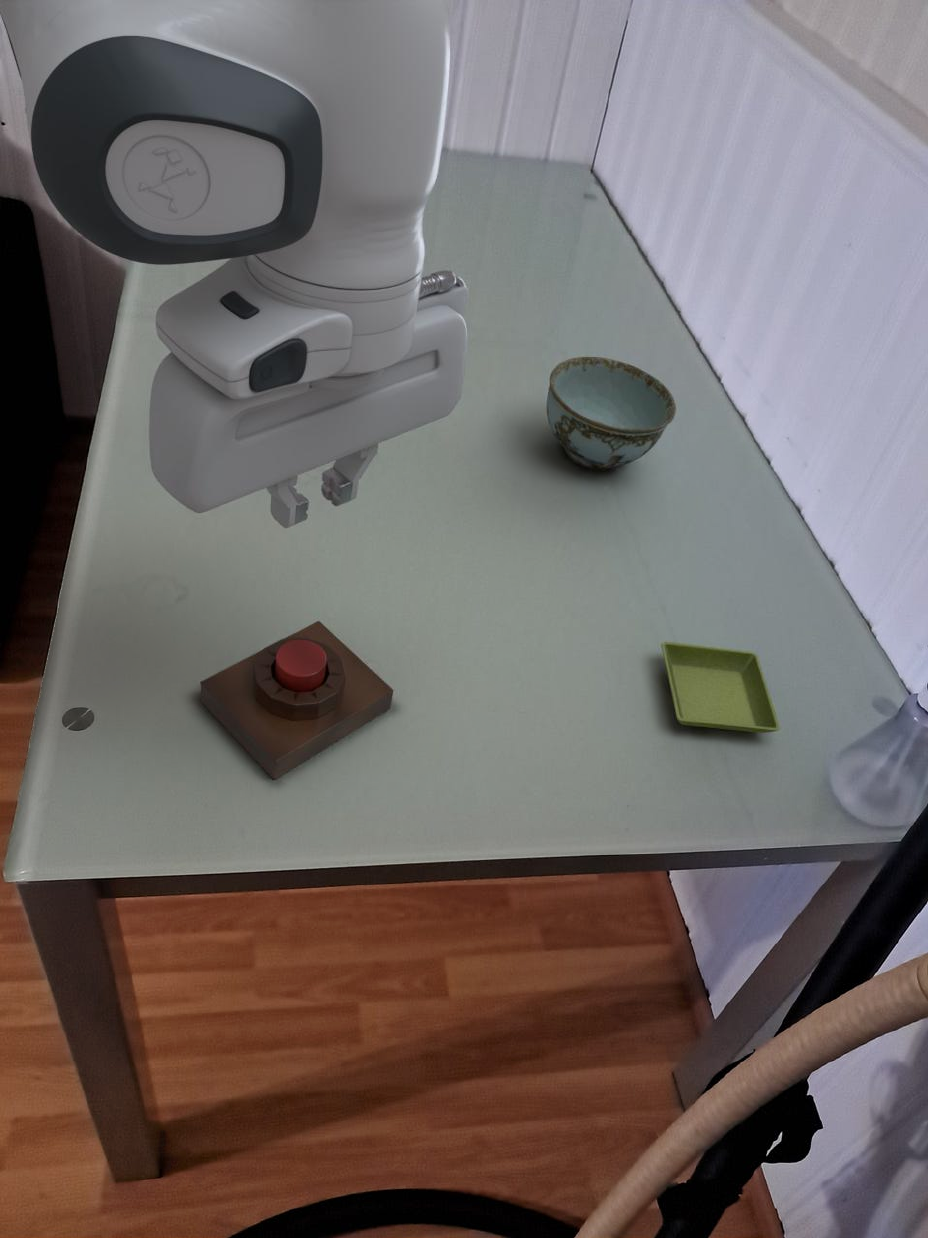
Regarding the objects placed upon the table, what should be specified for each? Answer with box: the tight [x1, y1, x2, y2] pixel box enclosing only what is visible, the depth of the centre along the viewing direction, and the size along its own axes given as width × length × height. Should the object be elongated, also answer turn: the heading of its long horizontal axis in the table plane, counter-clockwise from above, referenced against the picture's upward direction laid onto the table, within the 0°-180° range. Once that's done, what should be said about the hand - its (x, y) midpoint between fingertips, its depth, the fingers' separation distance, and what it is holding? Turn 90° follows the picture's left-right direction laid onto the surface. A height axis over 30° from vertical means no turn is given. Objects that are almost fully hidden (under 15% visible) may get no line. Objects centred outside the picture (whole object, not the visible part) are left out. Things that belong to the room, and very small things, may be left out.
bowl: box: [546, 356, 677, 471], centre depth 101 cm, size 14×13×8 cm
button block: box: [199, 620, 394, 781], centre depth 71 cm, size 11×9×4 cm
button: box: [275, 640, 326, 692], centre depth 70 cm, size 4×4×2 cm
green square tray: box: [661, 641, 780, 734], centre depth 80 cm, size 9×9×2 cm
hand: (313, 508), depth 60 cm, fingers closed
